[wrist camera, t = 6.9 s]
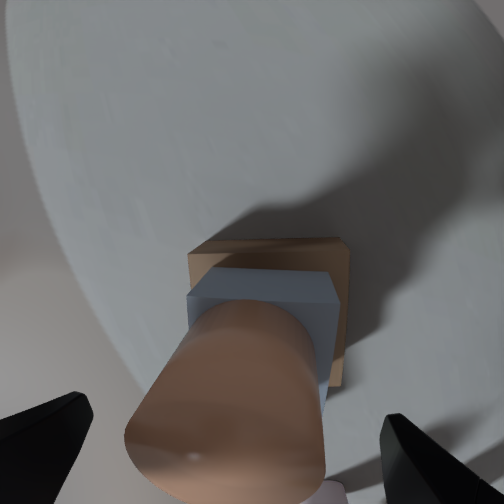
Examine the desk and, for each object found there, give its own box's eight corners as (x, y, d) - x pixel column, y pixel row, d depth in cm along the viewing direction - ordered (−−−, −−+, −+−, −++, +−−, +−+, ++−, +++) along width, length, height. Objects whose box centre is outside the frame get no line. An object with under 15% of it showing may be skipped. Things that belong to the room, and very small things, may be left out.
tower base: (338, 235, 16) (350, 250, 12) (333, 351, 17) (340, 386, 14) (208, 239, 17) (187, 254, 13) (218, 351, 18) (204, 384, 15)
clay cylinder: (315, 296, 9) (333, 400, 5) (313, 406, 10) (318, 515, 6) (175, 300, 10) (97, 386, 5) (196, 404, 11) (155, 501, 6)
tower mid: (328, 271, 13) (340, 303, 9) (317, 369, 14) (321, 417, 11) (211, 266, 13) (186, 295, 10) (215, 363, 15) (196, 408, 11)
